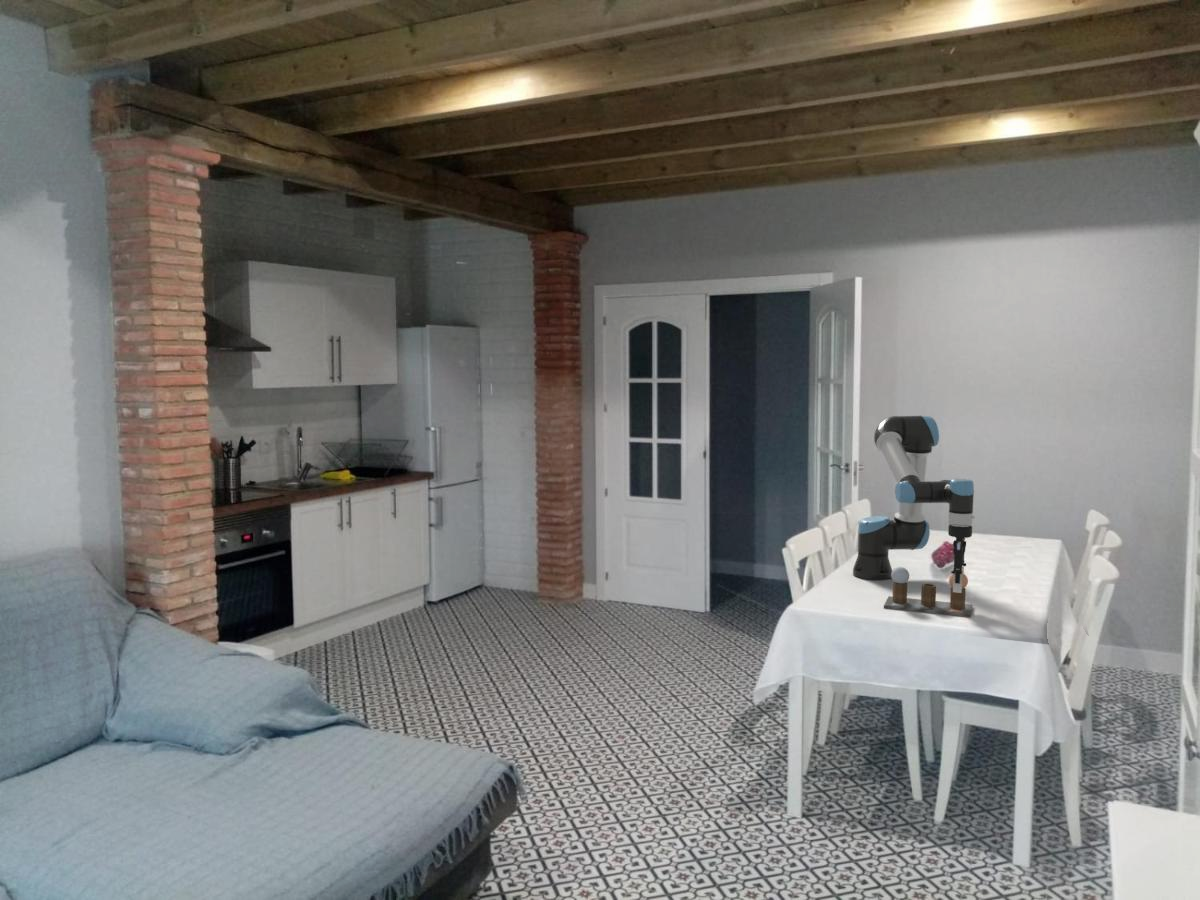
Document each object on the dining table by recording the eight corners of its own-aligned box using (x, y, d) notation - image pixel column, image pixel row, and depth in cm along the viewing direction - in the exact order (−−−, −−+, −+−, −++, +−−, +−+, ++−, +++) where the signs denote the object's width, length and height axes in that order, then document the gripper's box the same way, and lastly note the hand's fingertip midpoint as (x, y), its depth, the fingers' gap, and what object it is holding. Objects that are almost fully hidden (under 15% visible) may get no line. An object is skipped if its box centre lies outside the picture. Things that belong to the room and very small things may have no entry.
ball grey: (890, 585, 320) (890, 568, 319) (892, 581, 325) (892, 564, 325) (908, 586, 317) (908, 569, 317) (910, 582, 323) (910, 566, 322)
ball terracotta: (948, 590, 312) (948, 573, 311) (949, 586, 317) (949, 569, 317) (967, 592, 309) (967, 574, 309) (968, 588, 315) (968, 571, 314)
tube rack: (883, 608, 318) (884, 585, 317) (888, 598, 330) (889, 577, 329) (970, 617, 306) (971, 593, 306) (972, 607, 318) (973, 584, 317)
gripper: (970, 531, 299) (968, 597, 301) (973, 519, 320) (971, 582, 322) (946, 529, 302) (944, 595, 305) (950, 518, 323) (948, 580, 325)
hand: (958, 588), depth 313 cm, fingers open, 10 cm apart
